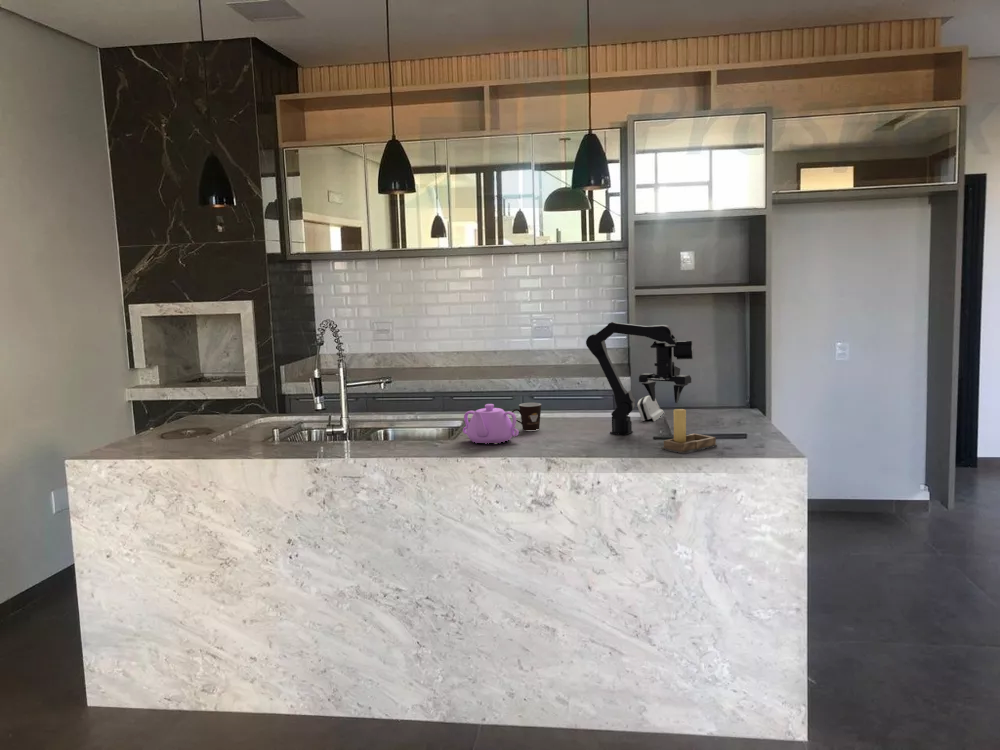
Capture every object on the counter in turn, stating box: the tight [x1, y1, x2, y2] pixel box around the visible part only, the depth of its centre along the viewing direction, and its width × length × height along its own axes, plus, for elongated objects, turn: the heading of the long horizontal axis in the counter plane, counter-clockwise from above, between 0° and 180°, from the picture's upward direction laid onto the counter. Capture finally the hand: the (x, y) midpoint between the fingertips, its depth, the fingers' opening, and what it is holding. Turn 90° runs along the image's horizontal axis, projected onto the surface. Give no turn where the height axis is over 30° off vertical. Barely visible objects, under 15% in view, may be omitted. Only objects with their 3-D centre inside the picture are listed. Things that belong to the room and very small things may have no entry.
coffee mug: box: [511, 402, 542, 430], centre depth 303 cm, size 12×9×10 cm
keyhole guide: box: [660, 433, 718, 455], centre depth 264 cm, size 16×10×3 cm, turn 124°
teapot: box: [462, 403, 520, 445], centre depth 283 cm, size 22×22×14 cm
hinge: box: [637, 395, 665, 422], centre depth 319 cm, size 17×5×10 cm, turn 154°
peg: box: [673, 408, 687, 443], centre depth 261 cm, size 4×4×13 cm
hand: (665, 402), depth 285 cm, fingers open, 9 cm apart
